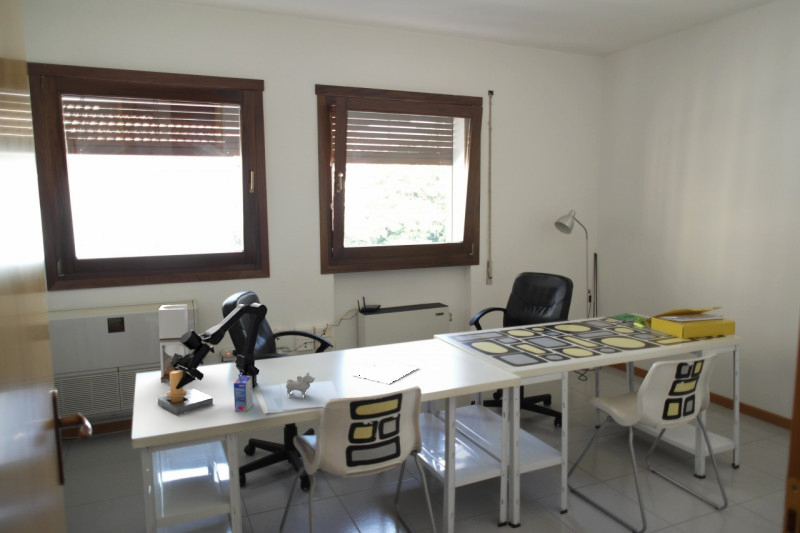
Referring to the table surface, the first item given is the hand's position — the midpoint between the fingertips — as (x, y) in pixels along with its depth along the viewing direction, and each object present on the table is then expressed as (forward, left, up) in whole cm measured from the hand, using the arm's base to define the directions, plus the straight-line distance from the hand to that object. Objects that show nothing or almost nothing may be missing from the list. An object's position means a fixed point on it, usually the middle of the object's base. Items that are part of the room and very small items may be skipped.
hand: (173, 387), depth 217 cm
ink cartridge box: (-28, -6, -9) cm, 30 cm away
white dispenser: (+20, -35, -9) cm, 41 cm away
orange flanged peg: (-1, -1, -7) cm, 7 cm away
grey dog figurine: (-47, -23, -9) cm, 53 cm away
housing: (-3, -4, -9) cm, 10 cm away
